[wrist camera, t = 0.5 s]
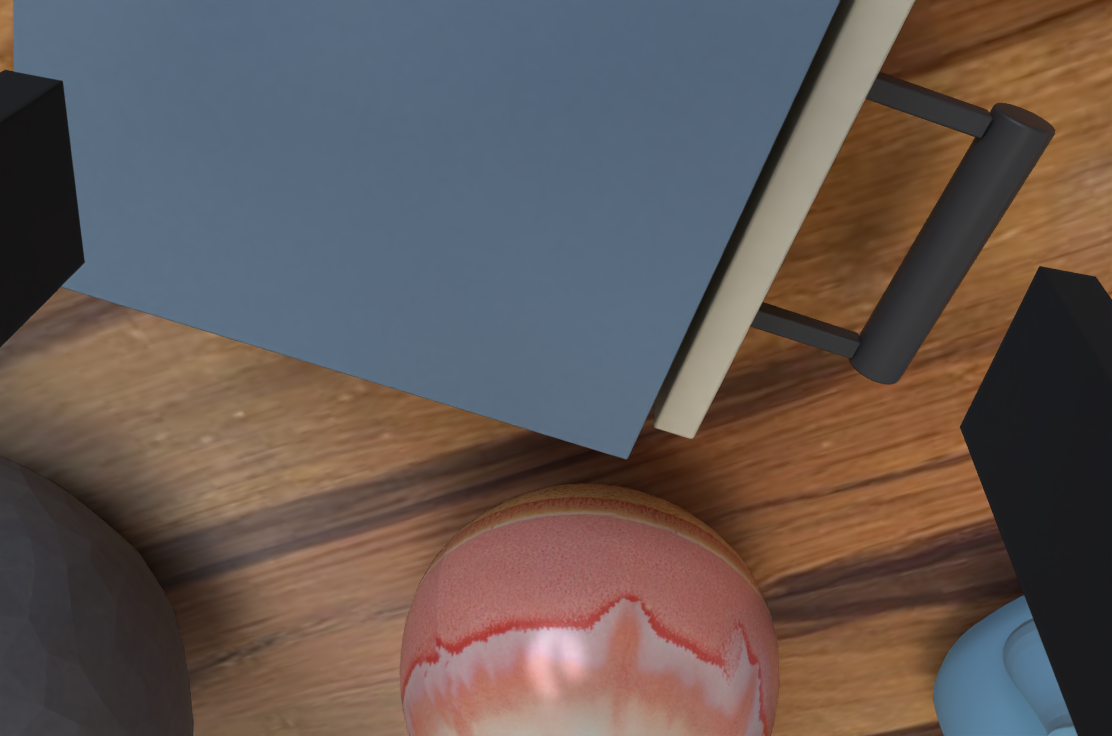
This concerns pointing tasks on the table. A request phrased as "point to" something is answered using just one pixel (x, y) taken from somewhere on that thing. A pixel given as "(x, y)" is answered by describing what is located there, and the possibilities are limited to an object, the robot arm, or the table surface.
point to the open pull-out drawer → (791, 186)
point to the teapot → (1000, 681)
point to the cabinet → (426, 180)
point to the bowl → (81, 623)
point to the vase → (588, 625)
